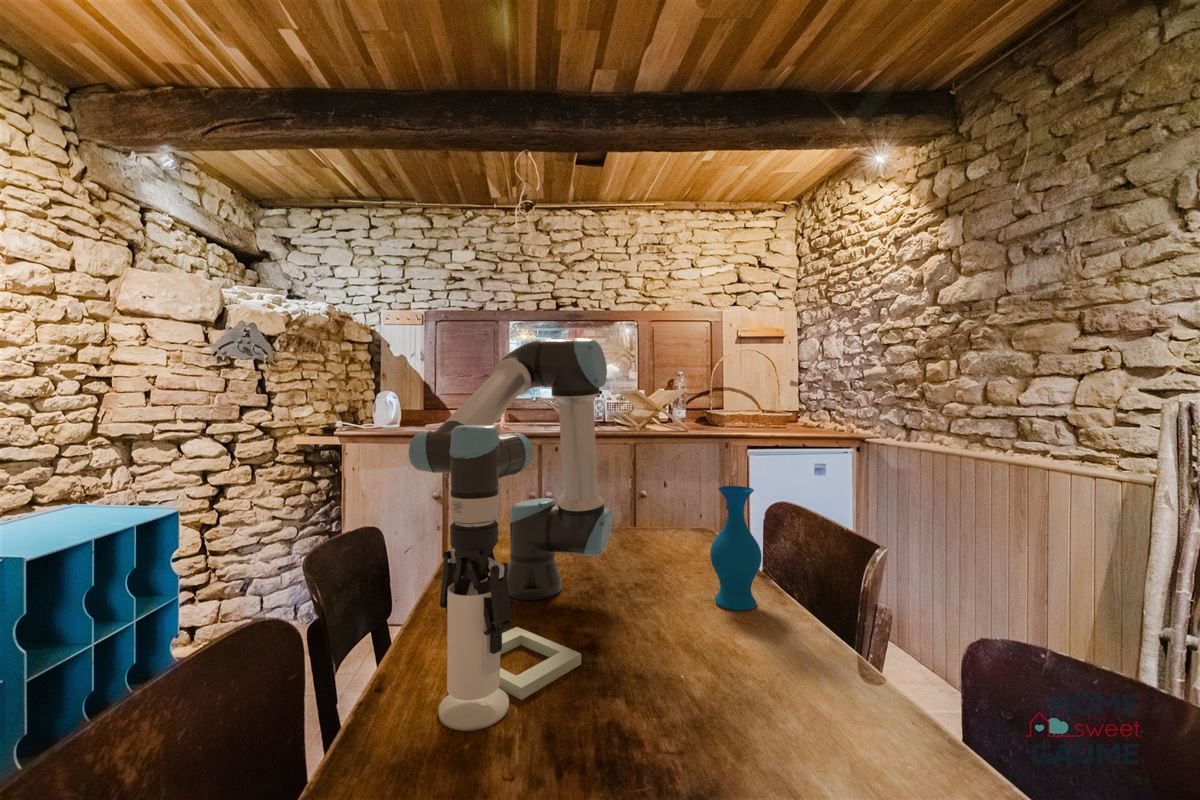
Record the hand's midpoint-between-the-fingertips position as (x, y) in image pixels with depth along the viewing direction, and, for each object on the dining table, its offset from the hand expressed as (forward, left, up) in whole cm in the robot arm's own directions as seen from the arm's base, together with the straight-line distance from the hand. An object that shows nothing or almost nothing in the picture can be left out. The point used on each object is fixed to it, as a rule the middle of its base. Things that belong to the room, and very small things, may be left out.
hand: (474, 662), depth 84 cm
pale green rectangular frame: (-5, +14, -8) cm, 17 cm away
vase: (+14, +67, -8) cm, 69 cm away
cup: (0, 0, -4) cm, 4 cm away
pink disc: (0, 0, -8) cm, 8 cm away
